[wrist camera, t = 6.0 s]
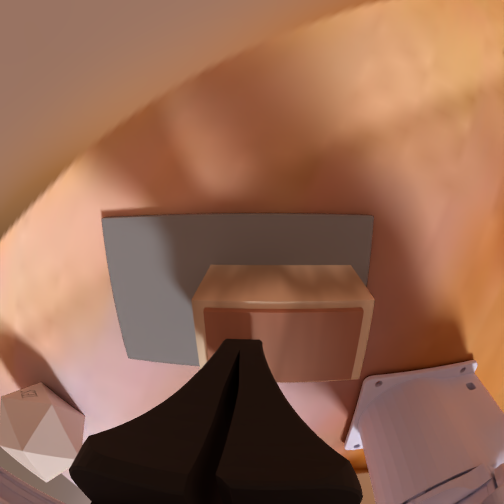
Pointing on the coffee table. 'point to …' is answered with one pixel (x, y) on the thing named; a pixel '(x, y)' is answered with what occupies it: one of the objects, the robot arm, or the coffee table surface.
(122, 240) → the slate mat
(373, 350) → the coffee table surface
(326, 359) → the maple block
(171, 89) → the coffee table surface
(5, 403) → the die
